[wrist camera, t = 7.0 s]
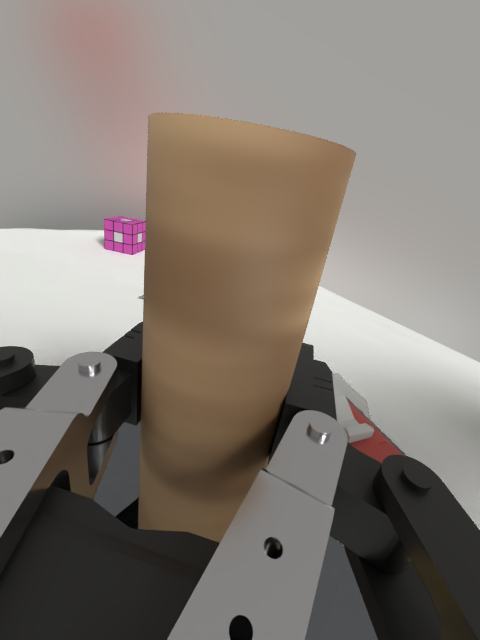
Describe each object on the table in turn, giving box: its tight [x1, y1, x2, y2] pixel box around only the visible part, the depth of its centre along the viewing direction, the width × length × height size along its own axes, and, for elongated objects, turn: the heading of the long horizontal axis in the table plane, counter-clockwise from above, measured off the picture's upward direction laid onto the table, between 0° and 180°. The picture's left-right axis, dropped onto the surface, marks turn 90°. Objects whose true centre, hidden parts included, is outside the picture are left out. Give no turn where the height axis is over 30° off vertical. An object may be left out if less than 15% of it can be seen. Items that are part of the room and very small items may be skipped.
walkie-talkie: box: [332, 373, 406, 463], centre depth 25 cm, size 9×4×20 cm
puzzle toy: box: [104, 216, 146, 255], centre depth 60 cm, size 6×6×6 cm
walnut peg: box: [138, 113, 356, 543], centre depth 9 cm, size 4×4×16 cm
